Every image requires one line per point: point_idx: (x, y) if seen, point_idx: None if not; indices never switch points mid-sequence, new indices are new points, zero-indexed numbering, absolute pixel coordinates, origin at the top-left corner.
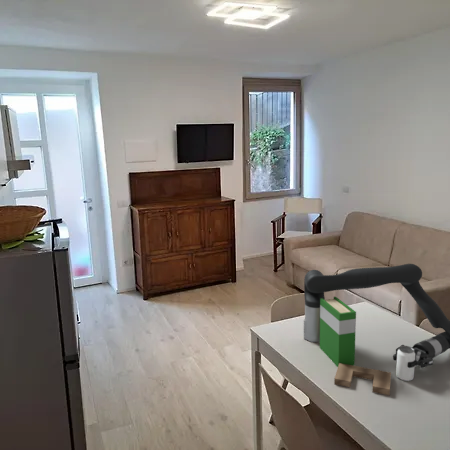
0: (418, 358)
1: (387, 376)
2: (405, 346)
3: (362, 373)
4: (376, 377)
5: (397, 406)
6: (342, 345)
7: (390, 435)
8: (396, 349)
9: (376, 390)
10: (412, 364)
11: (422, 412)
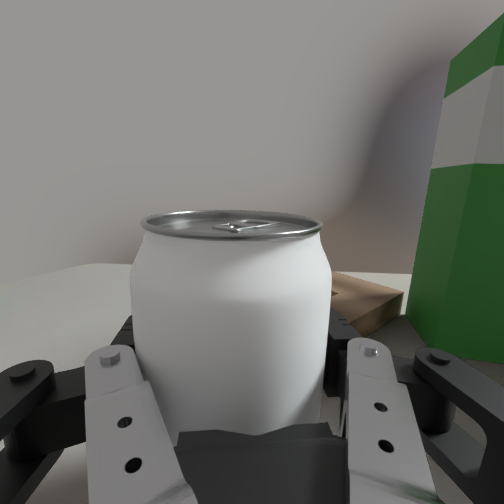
0: (99, 392)
1: None
2: (305, 238)
3: None
4: None
5: (122, 313)
6: (428, 224)
7: (97, 270)
8: (436, 351)
9: None
10: (131, 320)
11: (19, 338)
